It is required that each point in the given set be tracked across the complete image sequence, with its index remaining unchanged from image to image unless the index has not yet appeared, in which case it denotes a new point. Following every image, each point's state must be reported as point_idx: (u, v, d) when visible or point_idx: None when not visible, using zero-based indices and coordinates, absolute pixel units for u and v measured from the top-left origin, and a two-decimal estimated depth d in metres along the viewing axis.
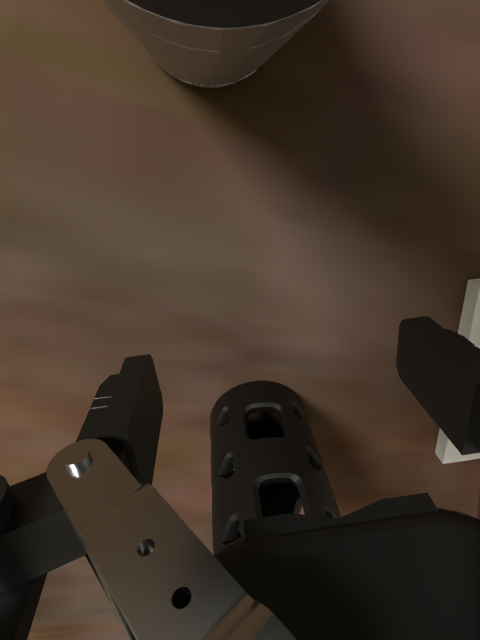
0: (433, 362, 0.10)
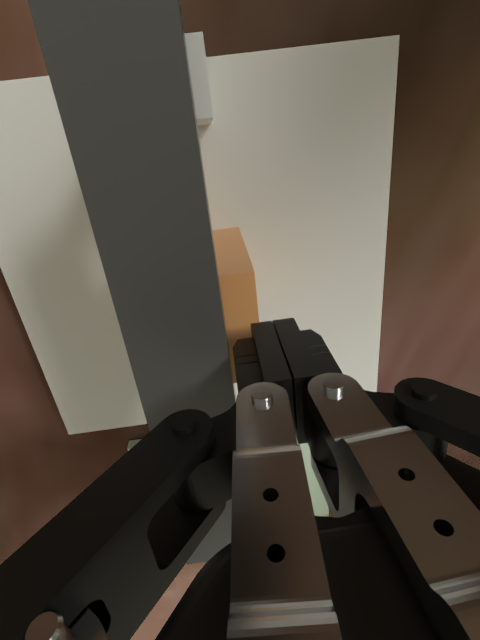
0: None
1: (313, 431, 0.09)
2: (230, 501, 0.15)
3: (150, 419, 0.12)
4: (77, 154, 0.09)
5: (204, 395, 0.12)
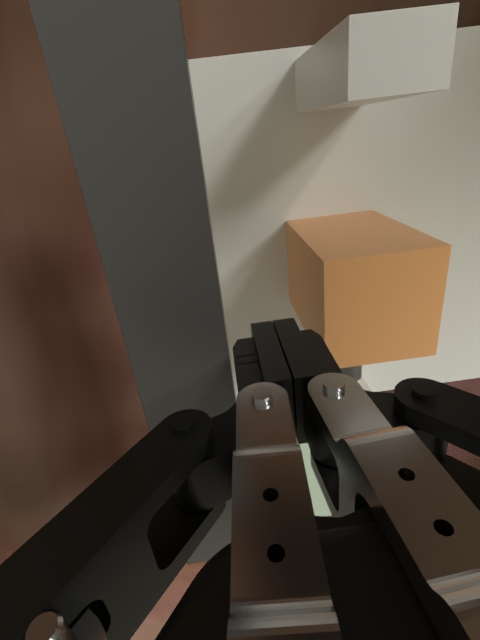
0: None
1: (313, 431, 0.09)
2: (231, 501, 0.15)
3: (150, 419, 0.13)
4: (77, 154, 0.09)
5: (204, 395, 0.12)
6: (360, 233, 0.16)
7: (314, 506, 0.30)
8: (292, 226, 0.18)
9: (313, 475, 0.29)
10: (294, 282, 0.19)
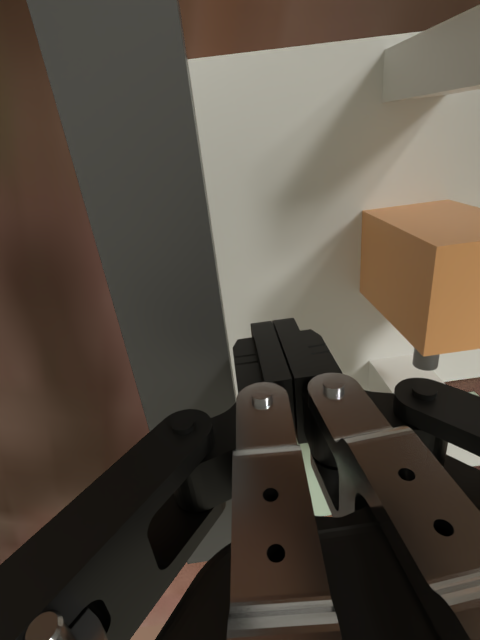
0: None
1: (313, 431, 0.09)
2: (231, 501, 0.15)
3: (150, 419, 0.13)
4: (77, 155, 0.09)
5: (204, 396, 0.12)
6: (453, 220, 0.16)
7: None
8: (373, 215, 0.18)
9: None
10: (371, 271, 0.19)
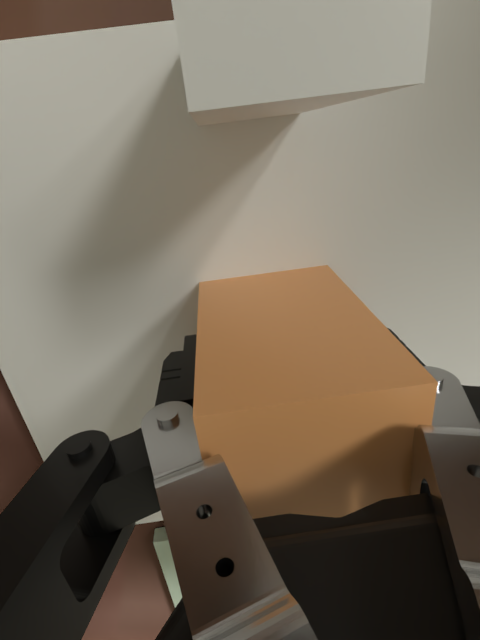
0: None
1: None
2: None
3: None
4: None
5: None
6: (289, 325, 0.09)
7: None
8: (200, 296, 0.12)
9: None
10: None
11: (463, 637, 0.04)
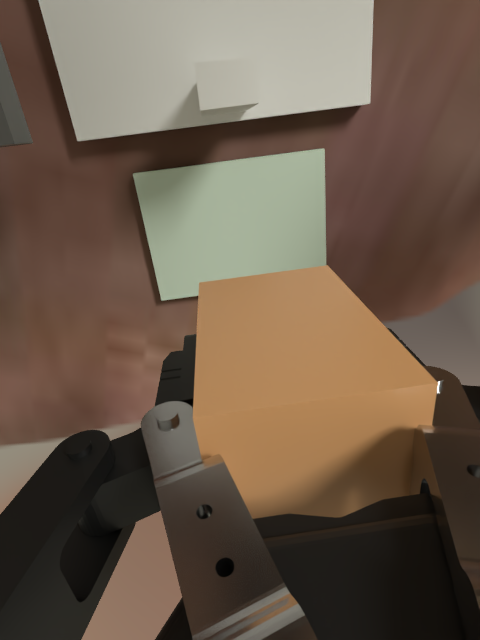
0: None
1: None
2: None
3: None
4: None
5: None
6: (289, 326, 0.09)
7: (229, 276, 0.31)
8: (200, 296, 0.12)
9: (224, 234, 0.30)
10: None
11: (463, 637, 0.04)
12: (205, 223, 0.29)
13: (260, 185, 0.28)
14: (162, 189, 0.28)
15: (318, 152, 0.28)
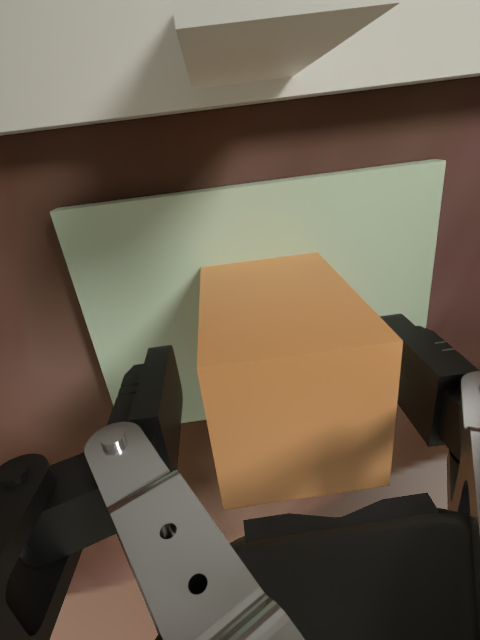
0: (403, 357, 0.11)
1: None
2: None
3: None
4: None
5: None
6: (281, 300, 0.11)
7: None
8: (202, 278, 0.13)
9: None
10: None
11: (476, 629, 0.05)
12: None
13: (312, 231, 0.14)
14: (113, 241, 0.14)
15: (433, 166, 0.13)
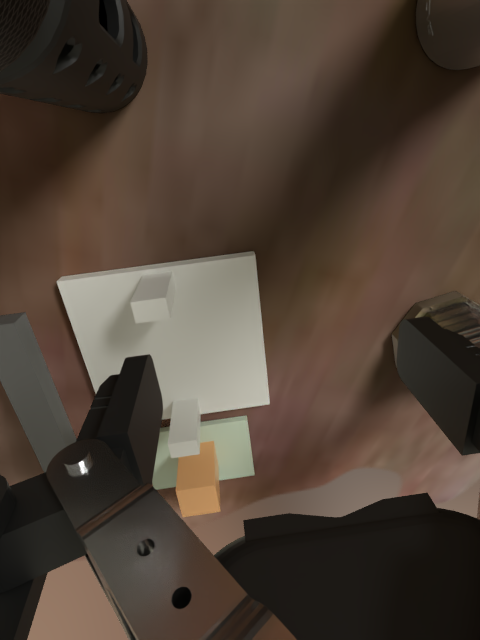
0: (433, 362, 0.10)
1: None
2: None
3: (28, 436, 0.34)
4: None
5: (47, 427, 0.34)
6: (196, 467, 0.46)
7: None
8: None
9: None
10: None
11: None
12: None
13: (211, 436, 0.49)
14: None
15: (244, 421, 0.48)
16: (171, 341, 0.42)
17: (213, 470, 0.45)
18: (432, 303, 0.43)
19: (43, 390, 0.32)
